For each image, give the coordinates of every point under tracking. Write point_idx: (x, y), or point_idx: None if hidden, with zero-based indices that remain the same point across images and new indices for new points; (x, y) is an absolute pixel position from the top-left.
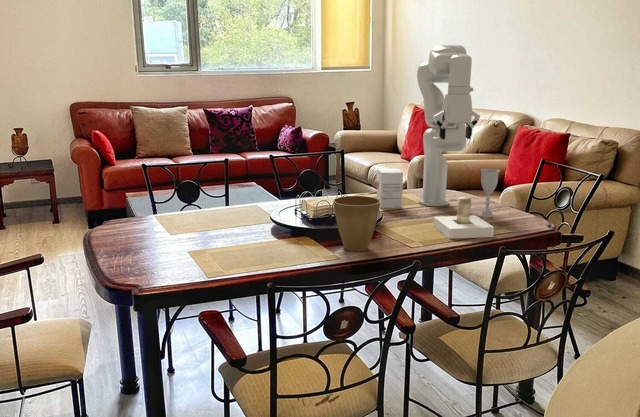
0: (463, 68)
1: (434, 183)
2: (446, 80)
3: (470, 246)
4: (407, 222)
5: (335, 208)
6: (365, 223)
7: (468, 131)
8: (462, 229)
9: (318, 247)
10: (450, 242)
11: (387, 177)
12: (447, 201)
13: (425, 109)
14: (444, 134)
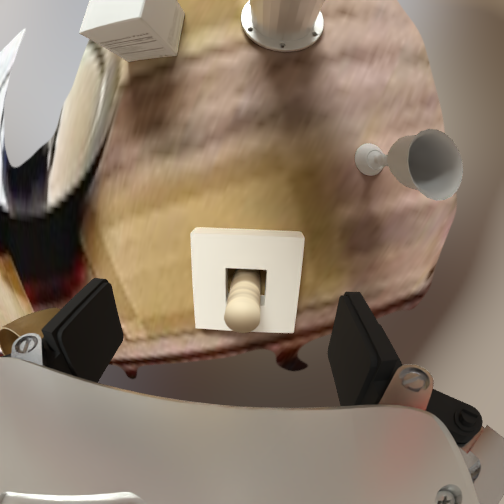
0: None
1: (273, 13)
2: None
3: (223, 357)
4: (147, 188)
5: (10, 350)
6: None
7: (342, 389)
8: (223, 328)
9: (26, 304)
10: (195, 334)
11: (100, 33)
12: (317, 33)
13: None
14: (101, 364)
